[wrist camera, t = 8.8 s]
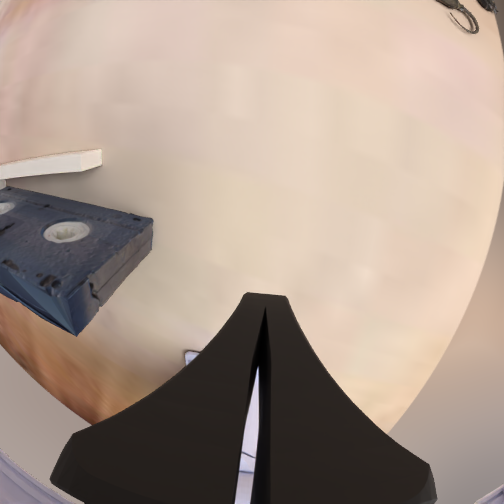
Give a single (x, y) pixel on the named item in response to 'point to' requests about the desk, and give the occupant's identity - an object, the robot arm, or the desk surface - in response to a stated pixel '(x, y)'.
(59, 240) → the vhs cassette tape
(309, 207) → the desk surface
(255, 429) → the robot arm
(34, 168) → the rail dock
